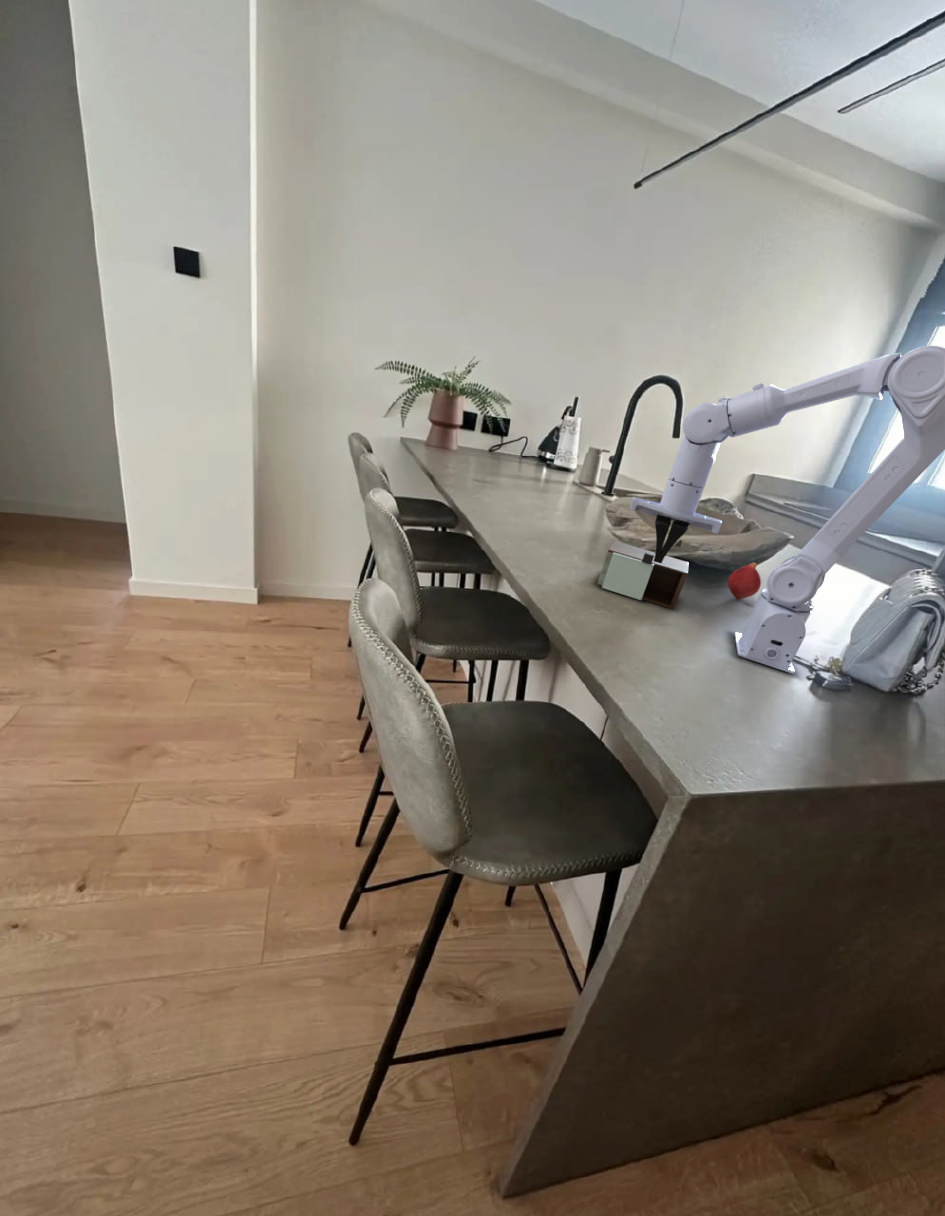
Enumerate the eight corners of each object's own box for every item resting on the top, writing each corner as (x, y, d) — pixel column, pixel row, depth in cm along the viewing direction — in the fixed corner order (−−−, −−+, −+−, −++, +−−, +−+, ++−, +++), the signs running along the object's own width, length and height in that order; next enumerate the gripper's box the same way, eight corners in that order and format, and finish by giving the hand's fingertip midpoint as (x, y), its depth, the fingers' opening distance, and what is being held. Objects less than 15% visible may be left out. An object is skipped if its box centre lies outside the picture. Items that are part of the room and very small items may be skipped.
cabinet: (673, 610, 93) (687, 574, 90) (596, 585, 97) (608, 550, 94) (675, 596, 100) (688, 562, 97) (603, 574, 104) (614, 540, 101)
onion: (724, 599, 105) (740, 562, 101) (720, 590, 110) (735, 554, 107) (754, 608, 104) (772, 570, 100) (749, 598, 109) (765, 562, 105)
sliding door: (640, 601, 93) (656, 556, 90) (601, 588, 95) (615, 544, 92) (641, 599, 94) (657, 555, 91) (602, 586, 96) (616, 543, 93)
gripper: (731, 491, 87) (700, 568, 92) (643, 469, 91) (619, 544, 96) (734, 497, 81) (701, 578, 86) (640, 473, 84) (614, 552, 90)
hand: (657, 561), depth 91 cm, fingers closed
